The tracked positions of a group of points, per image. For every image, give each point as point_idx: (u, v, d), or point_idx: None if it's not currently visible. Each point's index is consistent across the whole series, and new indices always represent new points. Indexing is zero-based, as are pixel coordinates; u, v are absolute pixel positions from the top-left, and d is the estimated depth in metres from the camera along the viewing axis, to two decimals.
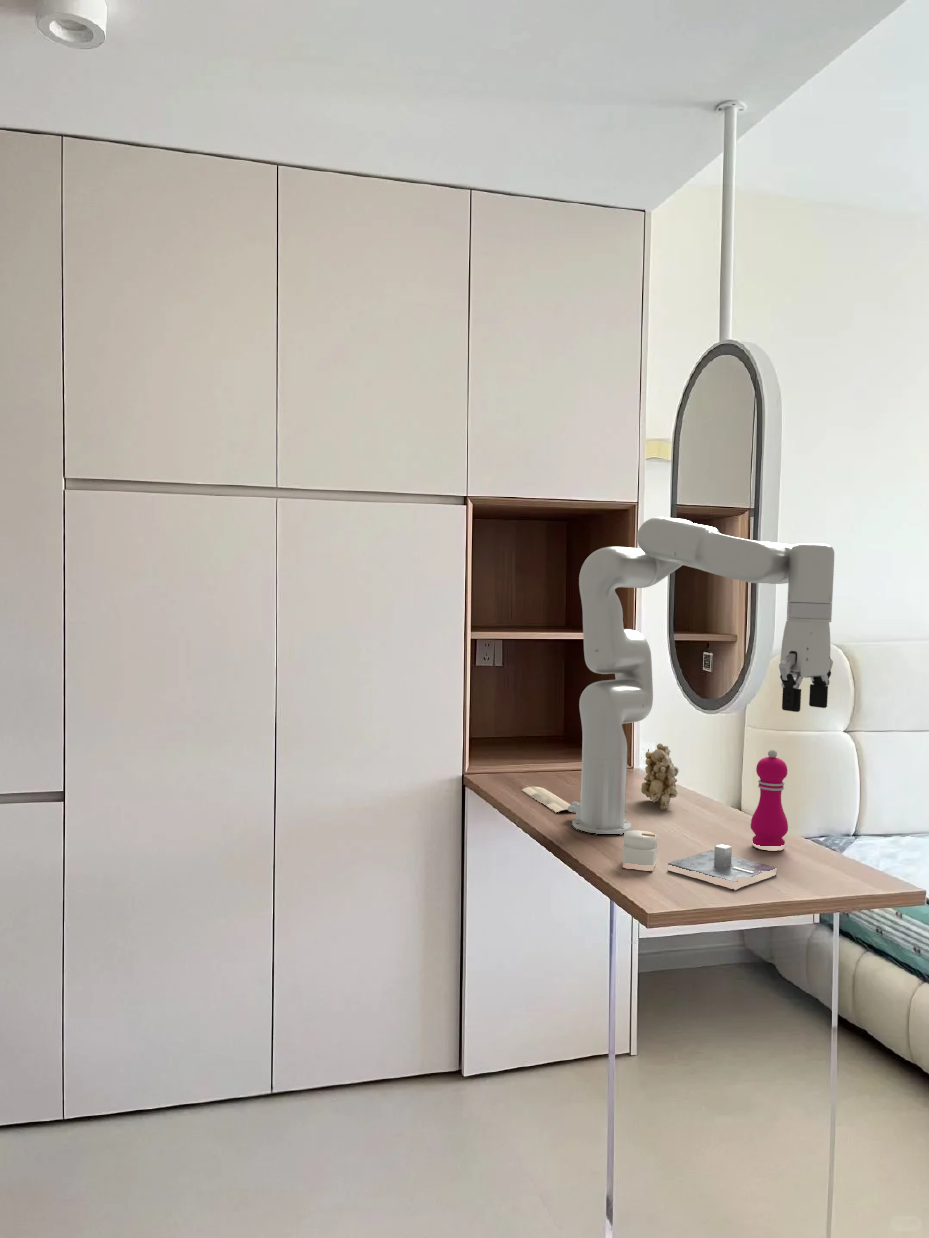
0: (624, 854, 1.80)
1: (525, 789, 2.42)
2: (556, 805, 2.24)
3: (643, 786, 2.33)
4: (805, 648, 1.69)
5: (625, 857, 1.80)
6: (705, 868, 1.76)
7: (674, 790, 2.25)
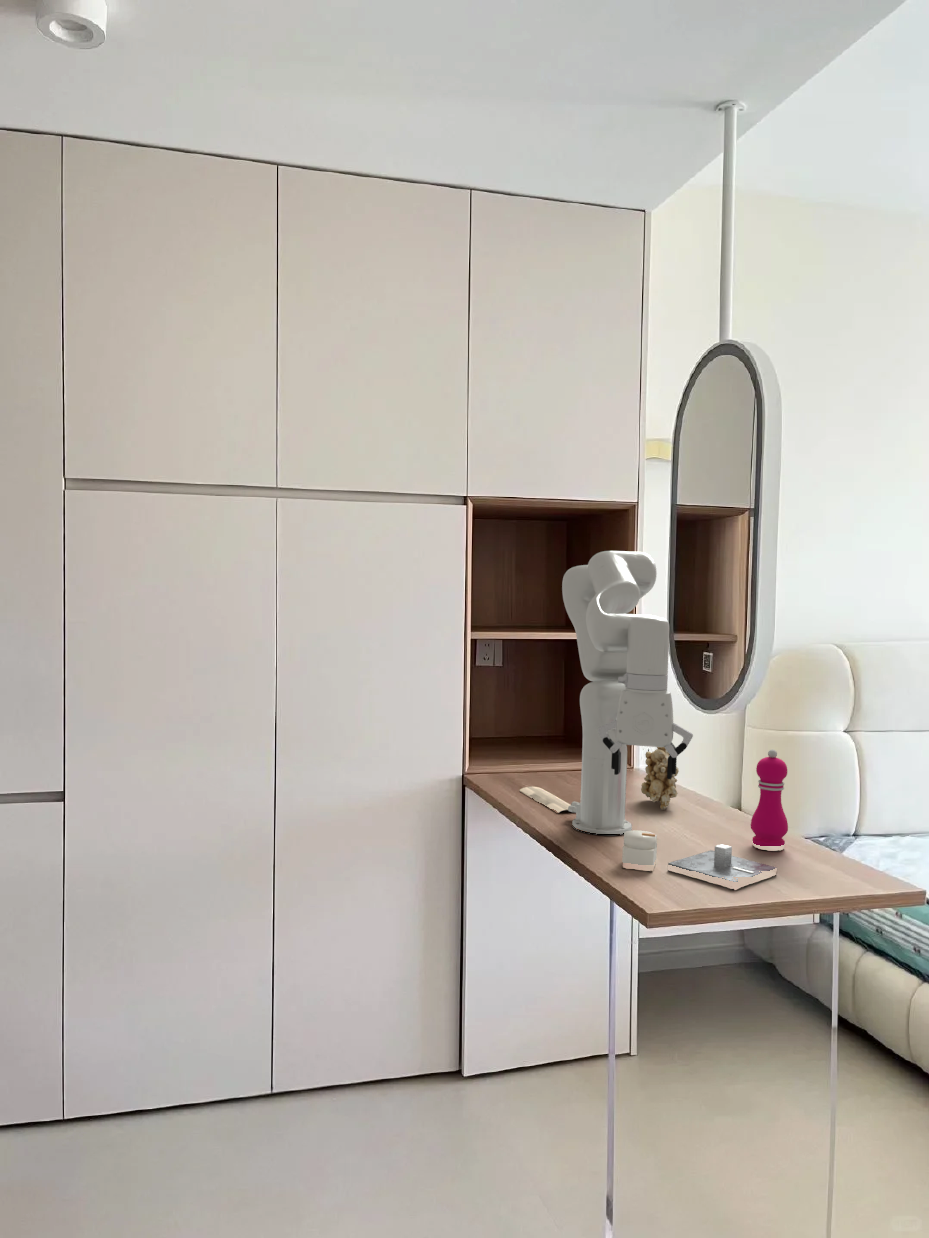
0: (624, 854, 1.80)
1: (522, 789, 2.42)
2: (556, 805, 2.24)
3: (643, 786, 2.33)
4: None
5: (625, 857, 1.80)
6: (705, 868, 1.76)
7: (674, 790, 2.25)
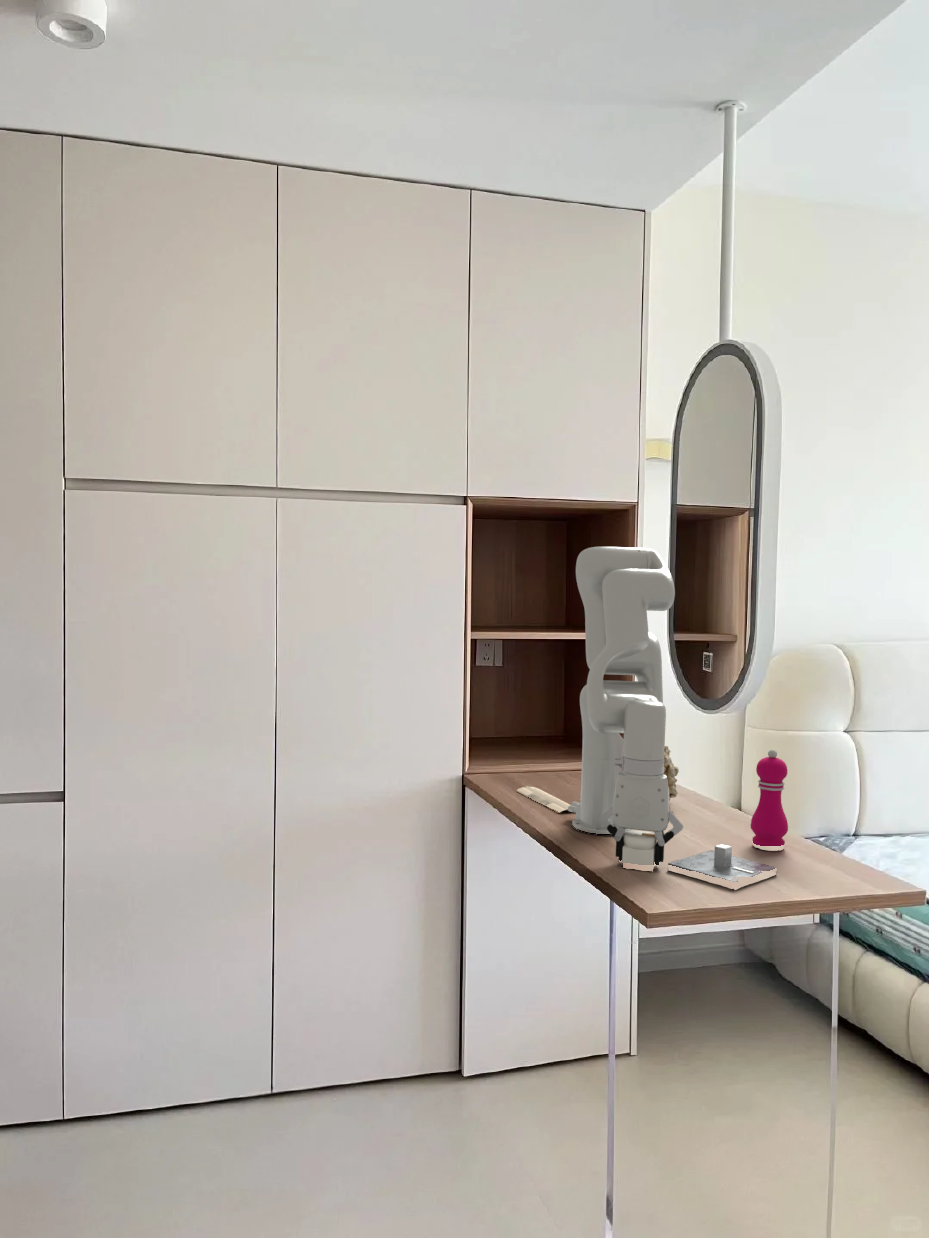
0: (624, 854, 1.80)
1: (520, 789, 2.41)
2: (557, 805, 2.24)
3: None
4: None
5: (625, 857, 1.80)
6: (705, 868, 1.76)
7: (674, 790, 2.25)
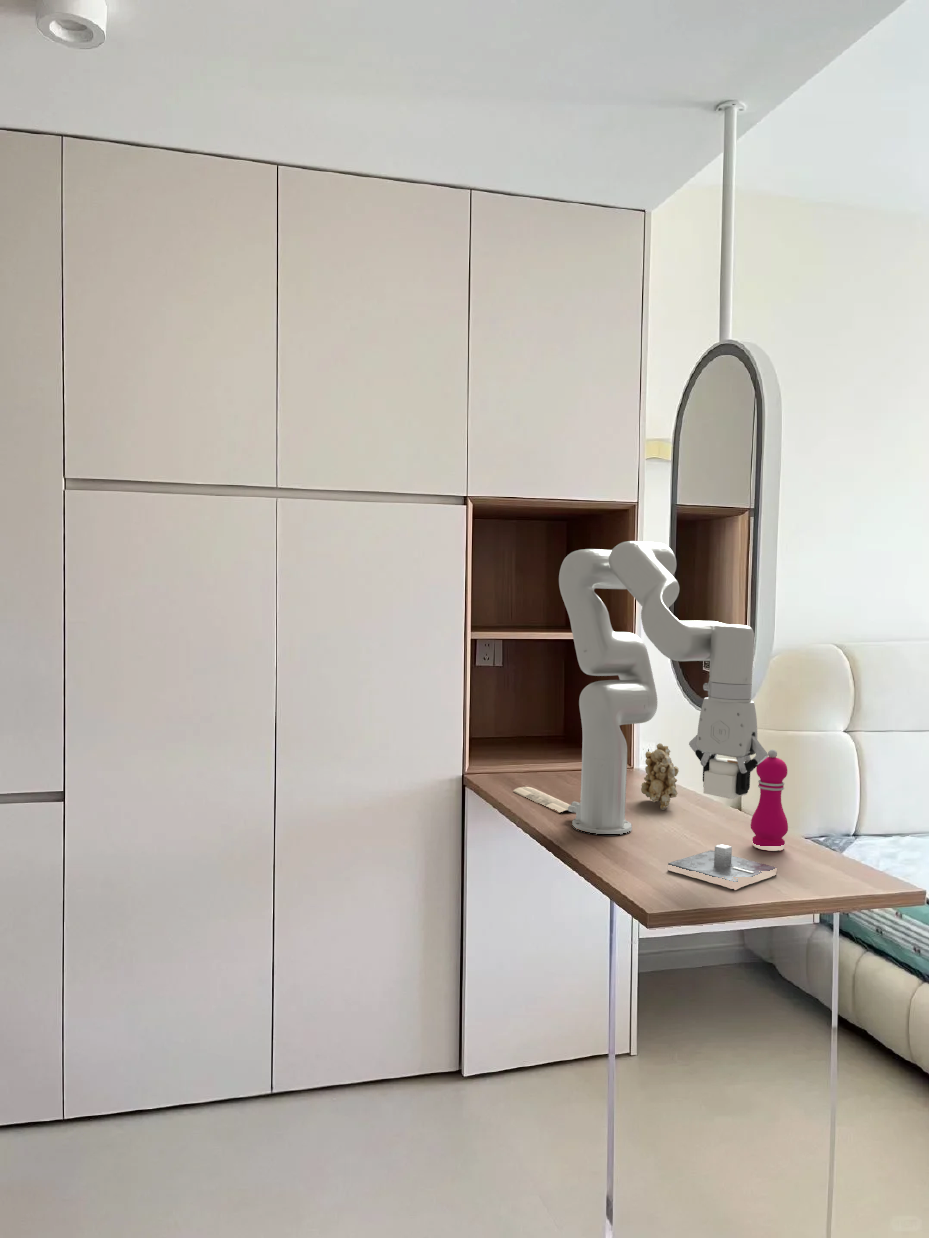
0: (705, 778, 1.78)
1: (517, 790, 2.41)
2: (557, 805, 2.24)
3: (643, 786, 2.33)
4: None
5: (706, 781, 1.78)
6: (705, 868, 1.76)
7: (674, 790, 2.25)
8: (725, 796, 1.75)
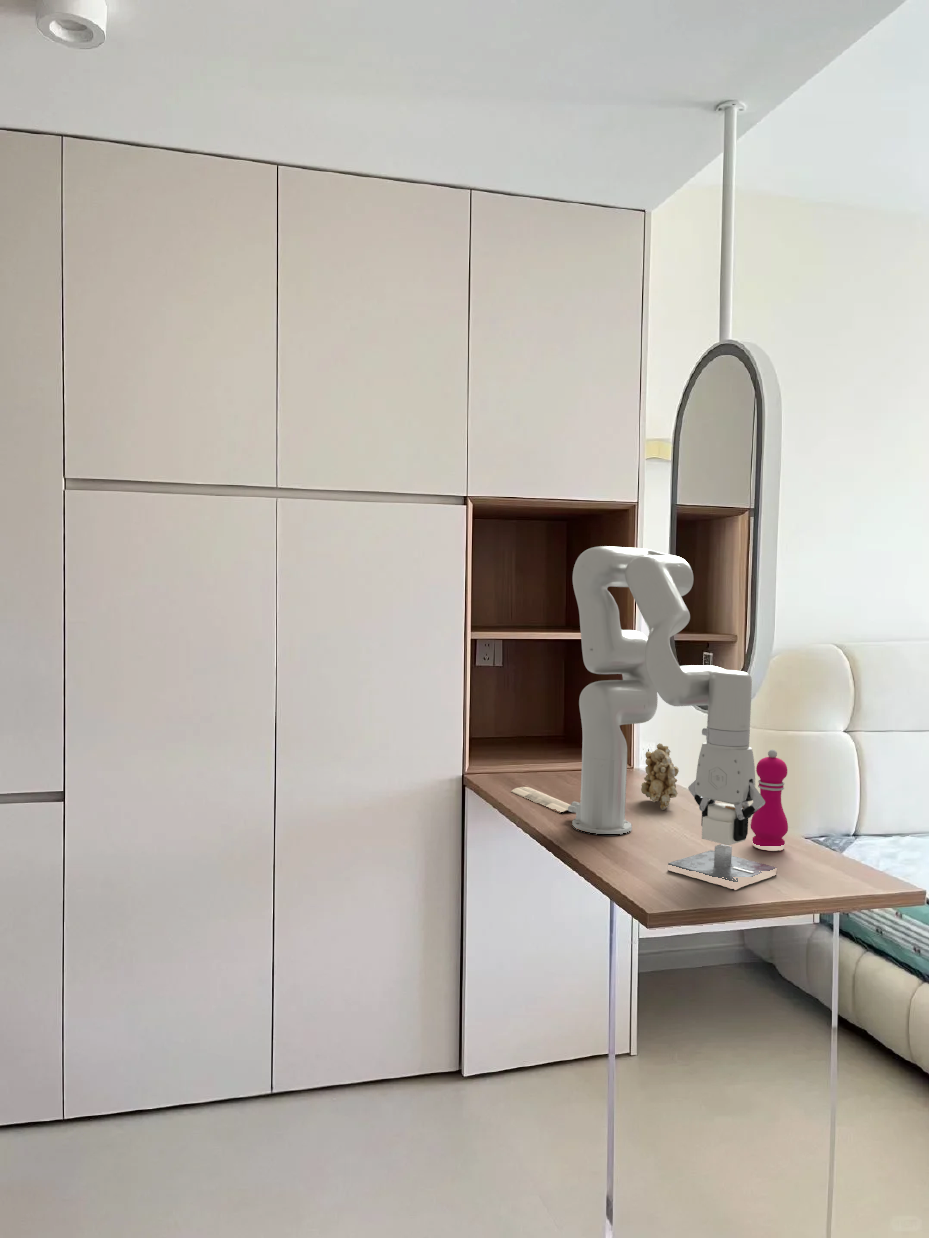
0: (703, 824, 1.78)
1: (515, 790, 2.41)
2: (557, 805, 2.24)
3: (643, 786, 2.33)
4: None
5: (704, 827, 1.78)
6: (705, 868, 1.76)
7: (674, 790, 2.25)
8: (723, 842, 1.76)
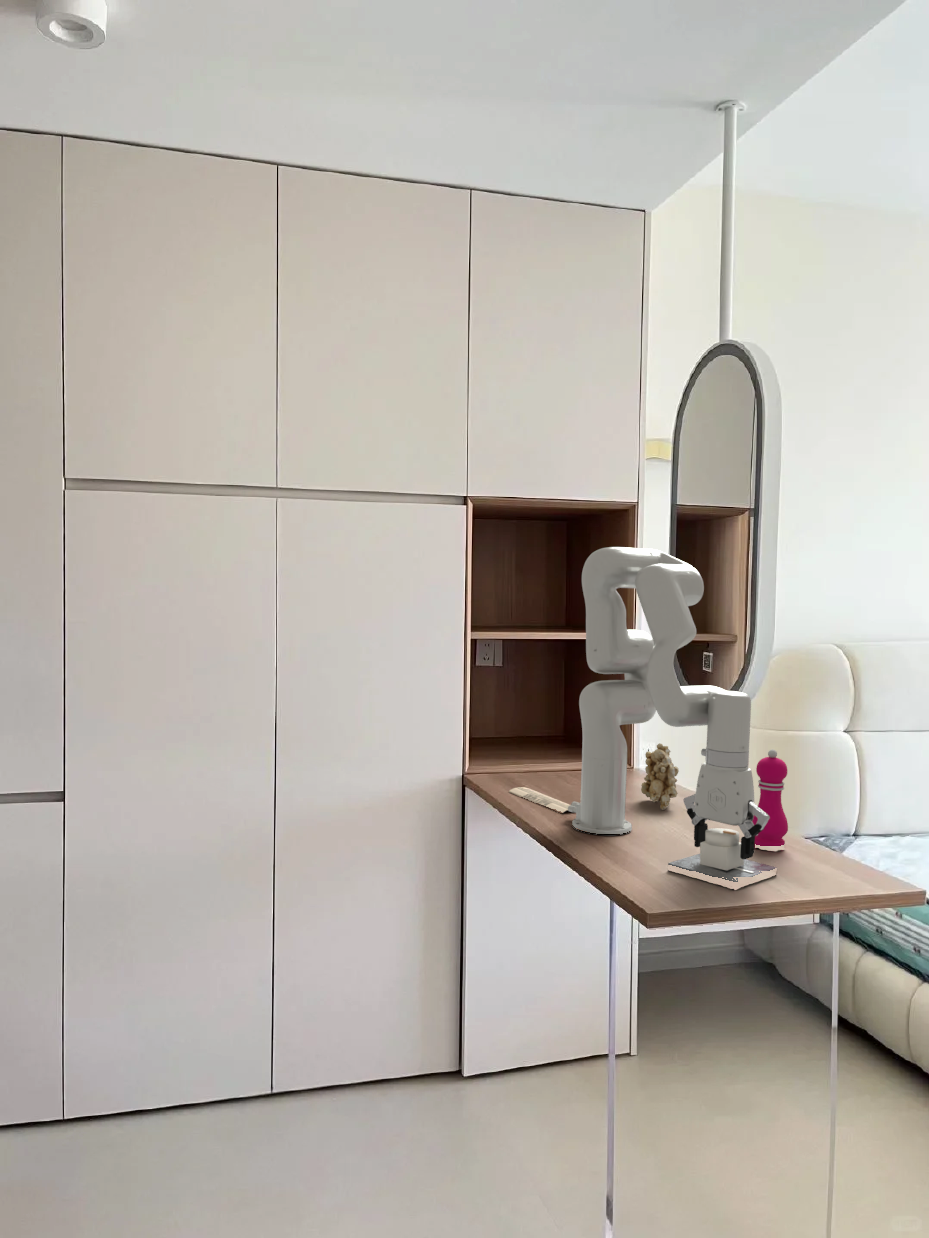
0: (701, 849, 1.79)
1: (513, 790, 2.40)
2: (558, 805, 2.24)
3: (643, 786, 2.33)
4: (753, 794, 1.76)
5: (702, 852, 1.79)
6: (705, 868, 1.76)
7: (674, 790, 2.25)
8: (721, 867, 1.76)
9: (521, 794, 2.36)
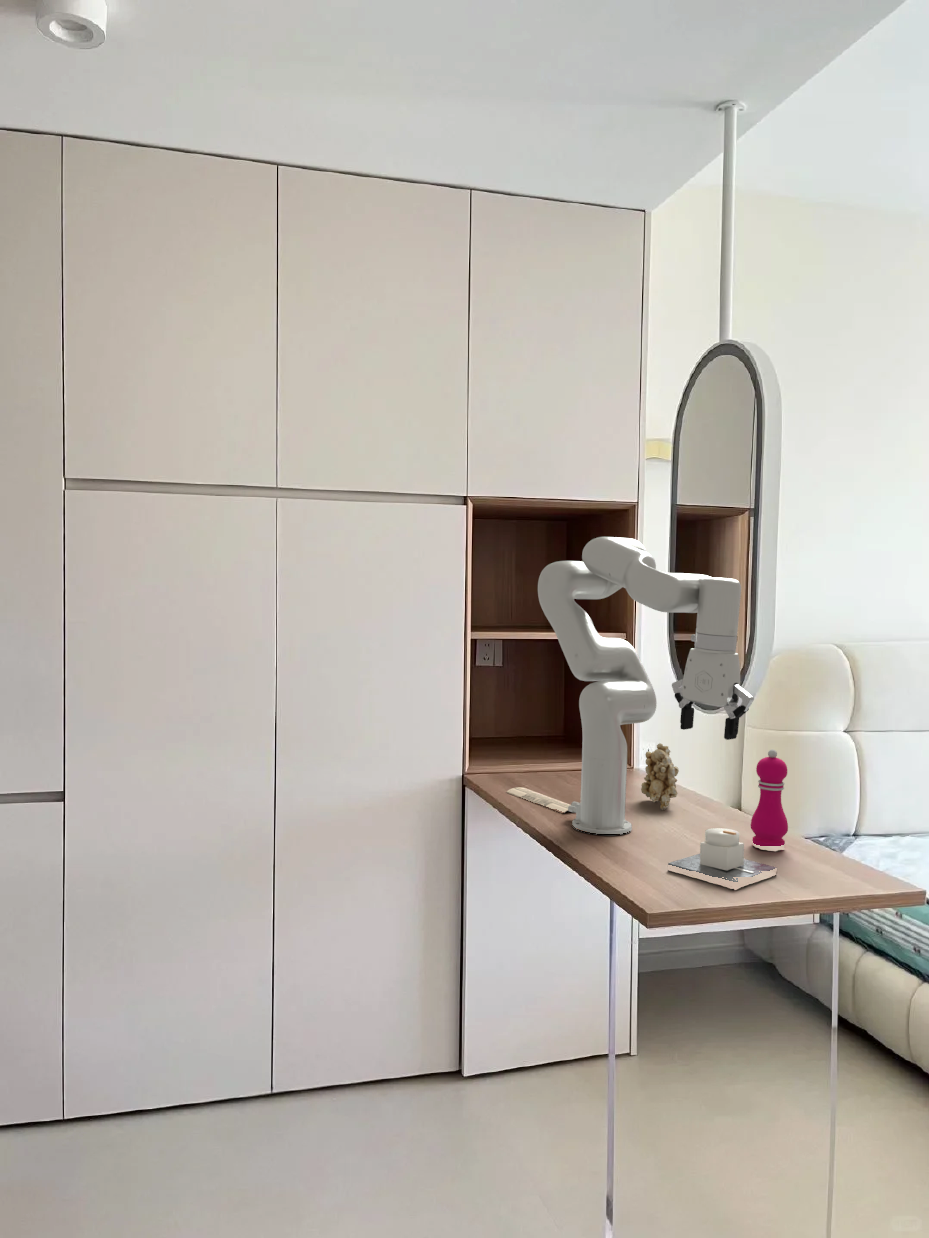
0: (701, 849, 1.79)
1: (510, 791, 2.40)
2: (558, 805, 2.24)
3: (643, 786, 2.33)
4: (739, 678, 1.81)
5: (702, 852, 1.79)
6: (705, 868, 1.76)
7: (674, 790, 2.25)
8: (721, 867, 1.76)
9: (519, 794, 2.36)
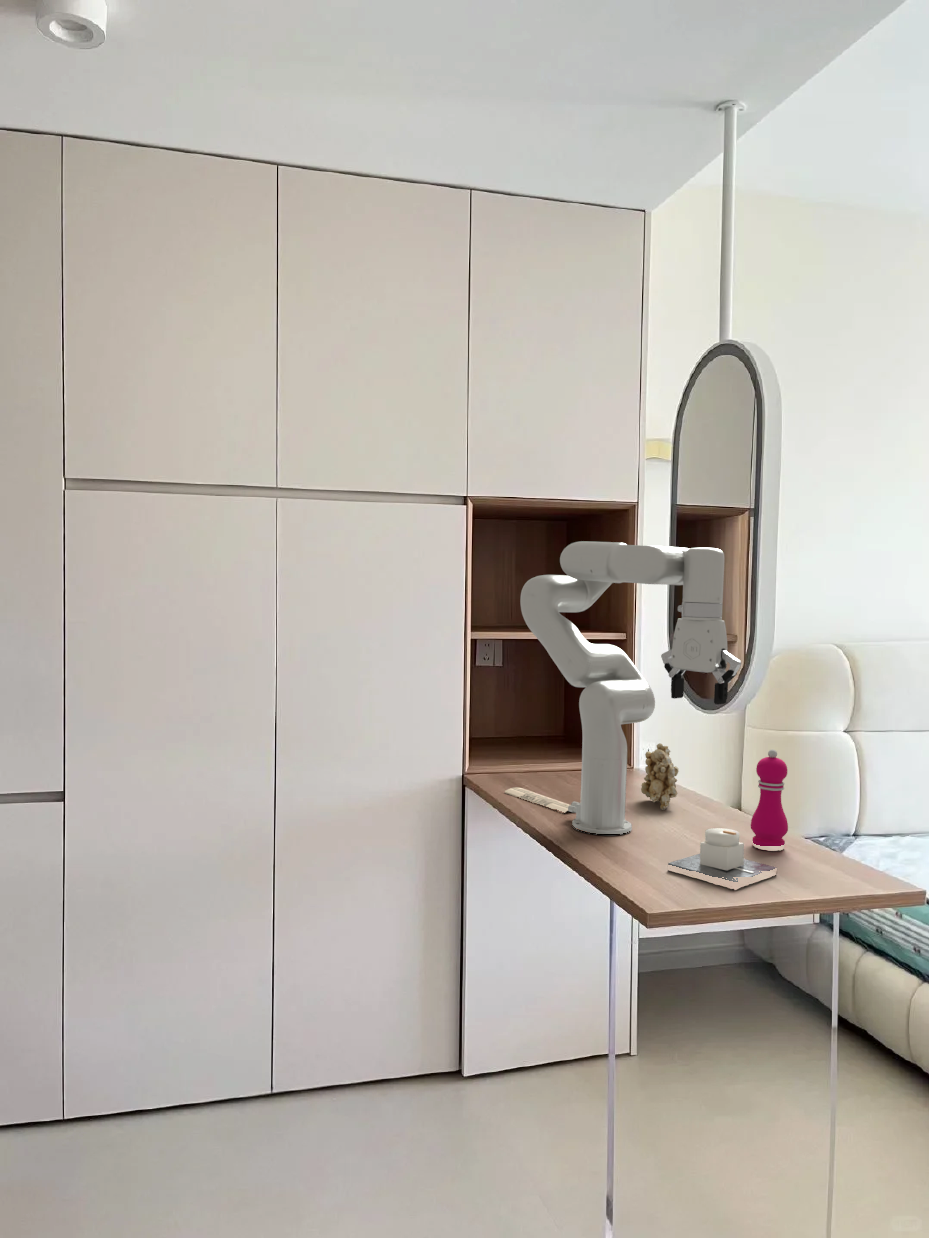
0: (701, 849, 1.79)
1: (508, 791, 2.39)
2: (558, 805, 2.24)
3: (643, 786, 2.33)
4: (726, 644, 1.86)
5: (702, 852, 1.79)
6: (705, 868, 1.76)
7: (674, 790, 2.25)
8: (721, 867, 1.76)
9: (518, 794, 2.36)
